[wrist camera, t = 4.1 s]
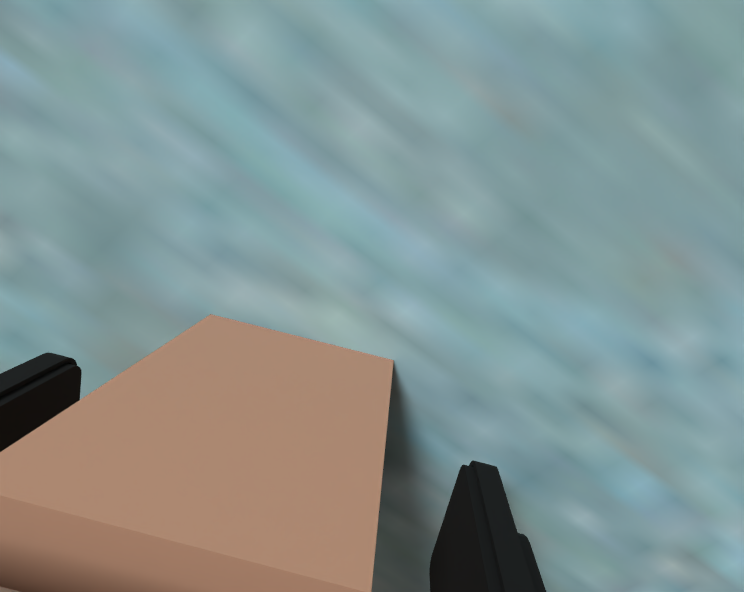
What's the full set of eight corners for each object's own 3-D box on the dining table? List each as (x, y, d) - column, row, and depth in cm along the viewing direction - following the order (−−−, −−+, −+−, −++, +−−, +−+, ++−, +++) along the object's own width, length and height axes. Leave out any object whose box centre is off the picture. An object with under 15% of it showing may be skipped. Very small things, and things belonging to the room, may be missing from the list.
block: (393, 360, 12) (371, 593, 5) (352, 514, 13) (290, 865, 6) (211, 314, 12) (-47, 482, 5) (187, 472, 13) (-44, 771, 7)
